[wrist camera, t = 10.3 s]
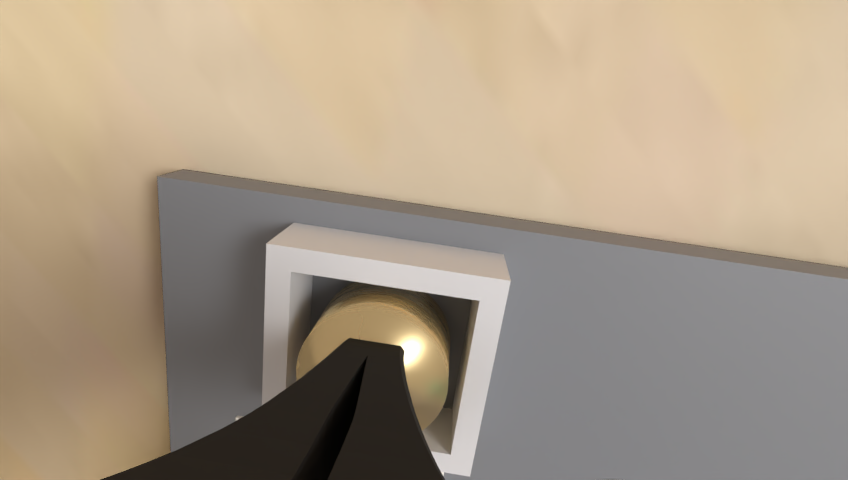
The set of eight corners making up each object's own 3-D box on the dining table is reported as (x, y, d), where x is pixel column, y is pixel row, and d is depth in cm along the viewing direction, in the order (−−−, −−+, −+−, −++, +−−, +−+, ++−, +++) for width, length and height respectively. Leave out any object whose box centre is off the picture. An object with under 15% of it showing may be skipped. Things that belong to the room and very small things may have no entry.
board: (861, 648, 17) (943, 762, 14) (194, 531, 17) (142, 616, 15) (1082, 302, 12) (1268, 364, 10) (183, 169, 13) (107, 189, 10)
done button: (440, 402, 13) (436, 454, 11) (317, 382, 13) (292, 430, 11) (459, 288, 12) (459, 324, 10) (324, 267, 12) (299, 299, 10)
